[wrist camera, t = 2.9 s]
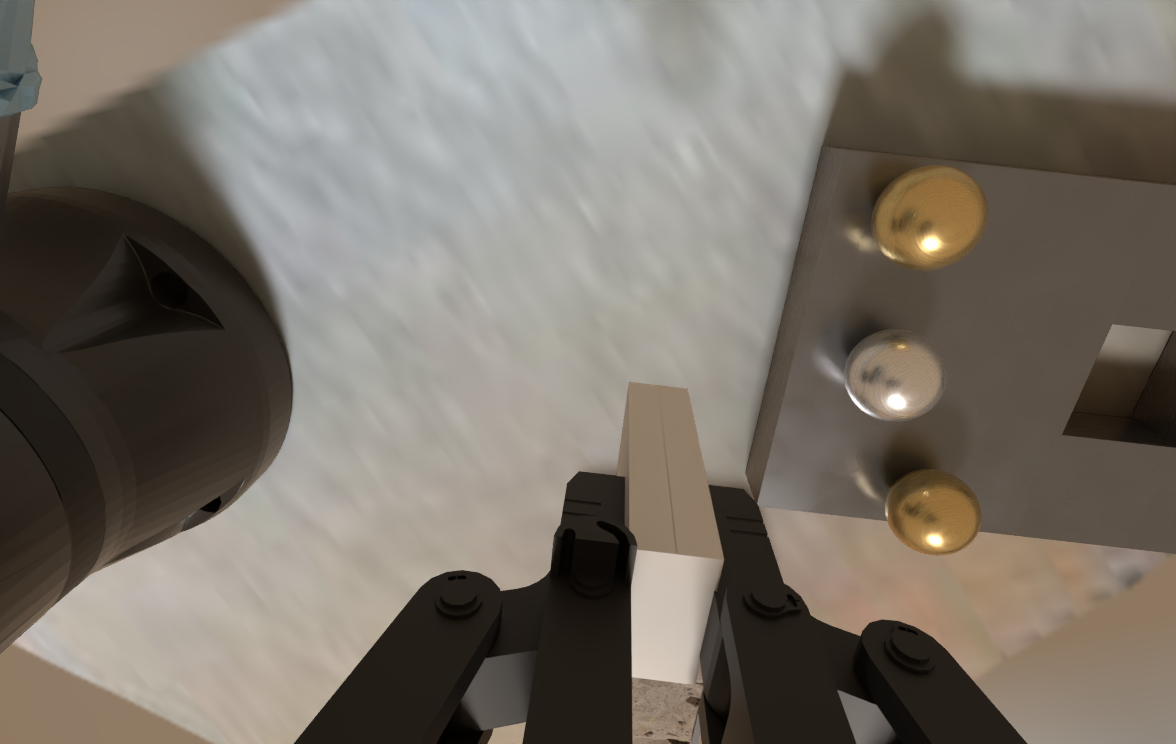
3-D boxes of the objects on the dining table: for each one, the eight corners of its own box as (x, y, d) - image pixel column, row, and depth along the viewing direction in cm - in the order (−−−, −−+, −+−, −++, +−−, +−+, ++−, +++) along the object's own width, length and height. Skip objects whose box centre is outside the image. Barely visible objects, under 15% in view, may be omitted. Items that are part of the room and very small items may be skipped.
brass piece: (845, 253, 22) (881, 276, 19) (871, 156, 20) (914, 164, 17) (938, 263, 22) (988, 287, 19) (969, 166, 20) (1028, 176, 17)
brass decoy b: (863, 516, 26) (894, 568, 23) (885, 449, 24) (921, 495, 21) (940, 524, 26) (981, 578, 23) (966, 458, 24) (1013, 506, 21)
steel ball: (822, 392, 24) (851, 432, 21) (844, 312, 22) (878, 342, 19) (906, 401, 24) (947, 443, 21) (933, 322, 22) (980, 354, 19)
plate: (745, 473, 28) (756, 506, 26) (822, 145, 23) (845, 149, 20) (1144, 518, 28) (1191, 555, 26) (1319, 200, 22) (1399, 210, 20)
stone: (594, 732, 35) (773, 702, 34) (593, 835, 29) (805, 803, 28) (535, 528, 31) (732, 489, 30) (519, 602, 26) (761, 556, 25)
